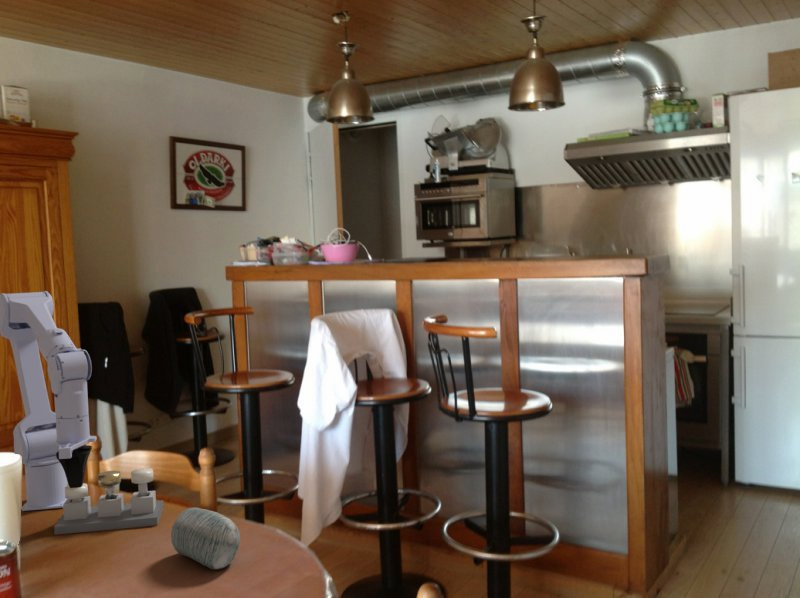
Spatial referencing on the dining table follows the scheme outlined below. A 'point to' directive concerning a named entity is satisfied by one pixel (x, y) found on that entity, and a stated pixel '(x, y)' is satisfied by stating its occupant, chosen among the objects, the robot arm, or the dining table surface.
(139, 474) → the ivory knob
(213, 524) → the spool
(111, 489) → the brass knob
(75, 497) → the ivory knob
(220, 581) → the dining table surface
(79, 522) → the mount
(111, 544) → the dining table surface
